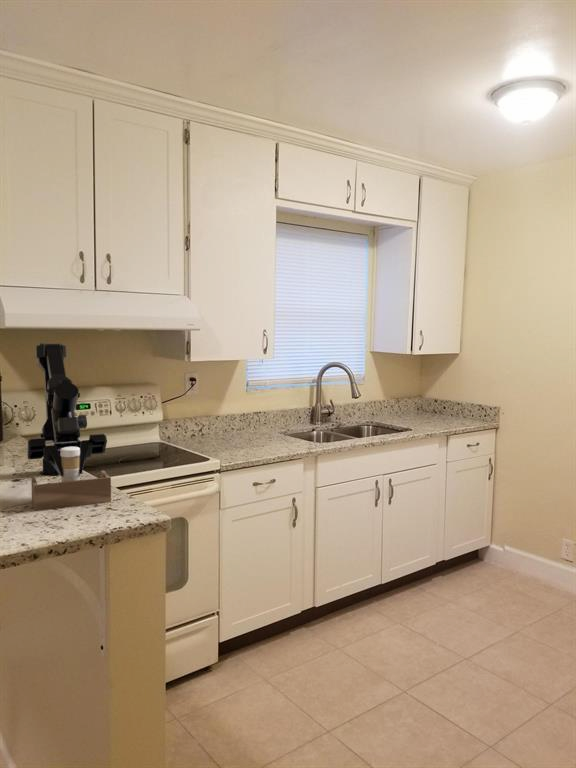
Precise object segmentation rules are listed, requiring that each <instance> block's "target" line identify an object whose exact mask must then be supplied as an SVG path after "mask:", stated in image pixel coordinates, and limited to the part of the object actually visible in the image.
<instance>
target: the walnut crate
mask: <svg viewBox="0 0 576 768" xmlns="http://www.w3.org/2000/svg"><path fill="white" fill-rule="evenodd" d="M100 473H101V474H100V478H99V477H98V478H89V479H80V480H77V481H67V482H61V481H59V482H58V481H57V482H49V483H38V482H37V479H36V477H31V478H30V479H31V480H30V482H31V483H30V484H31V486H30V487H31V502H32V506H33V509H34V511H42V510H43V511H44V510H49V509H50V510H51V509H60V508H68V507H76V506H85V505H91V504H92V505H93V504H100V503H101V504H102V503H108V502H112V480H111V479H112V478H111V476H110V475H109V474H108V473H107V472H106V471H105V470H101V471H100Z"/></svg>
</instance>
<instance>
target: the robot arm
mask: <svg viewBox="0 0 576 768" xmlns="http://www.w3.org/2000/svg"><path fill="white" fill-rule="evenodd" d="M34 357H35V359H37V367H38V368H40V370H41V372H42V373H43V378H44V379H43V381H44V398H45V399H44V400H45V413H46V421H45V422H44V424H43V426H42V428H41V433H39V437H34V438H33V437H31V438H29V439H28V440H27V449H26V454H27V459H28V460H40V459H41V460H42V470H40V471H39V474H41V475H50V476H58V475H59V476H60V477H61V476H62V474H63V473H62V466H61V455H60V450H61V448H64V447H79V448H80V455H79V456H80V457H79V465H80V475H82V474H83V470H84V465H85V462H86V460H87V458H90V457H91V456H92V455H102V454H105V453H106V447H107V444H108V439H107V435H105V434H104V433H94V434H93V433H91V434H89V437H88V439H86V440H82V439H79V438H81V432H80V431H81V430H82V429H87V426H88V420H87V419H88V418H87V415H86V414H78V415H77V416H76V413H75V410H76V408H77V404H78V400H79V398H80V397H81V393H80V392H79V387H77V386H76V384H73V382H72V381H73V380H72V379H70V378H68V377H67V373H66V369H65V364H64V361H65V360H64V359H66V358H67V345H64V344H61V343H60V342H49V343H48V342H45V343H44V342H43V343H42V342H39V343H38V345H36V346H34Z"/></svg>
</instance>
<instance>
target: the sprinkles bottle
mask: <svg viewBox="0 0 576 768" xmlns="http://www.w3.org/2000/svg"><path fill="white" fill-rule="evenodd" d="M60 455H61V466H62V473H63V474H62V476H60V478H61V481H60V482H67V481H77V480H81V474H80V465H79V457H80V456H79V455H80V448H79V447H64V448H61V450H60Z"/></svg>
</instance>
